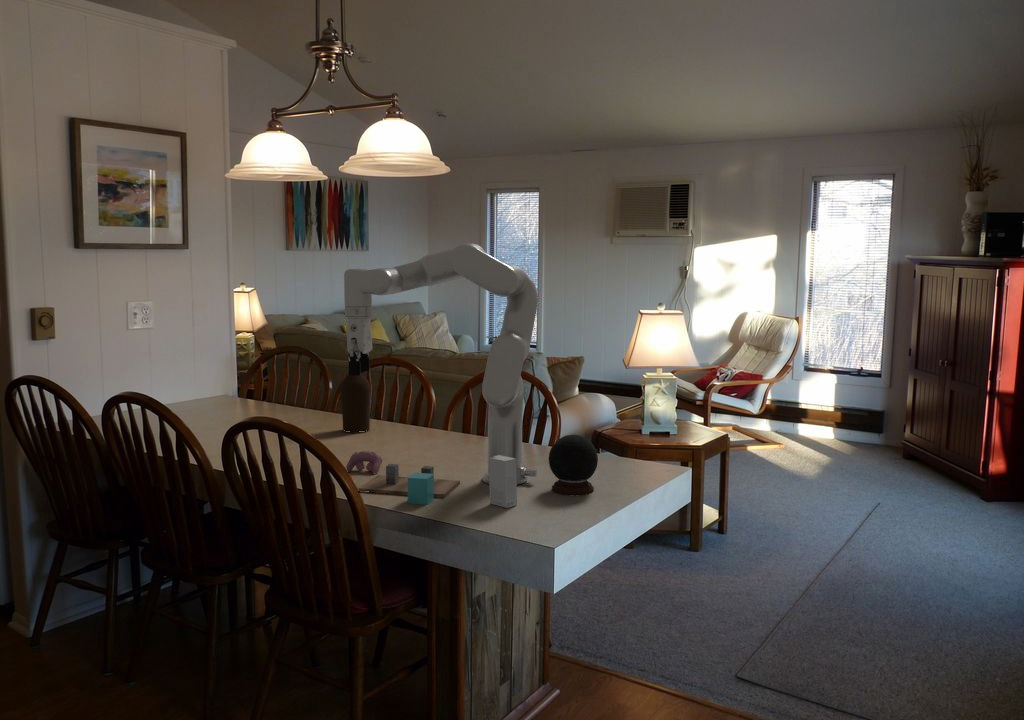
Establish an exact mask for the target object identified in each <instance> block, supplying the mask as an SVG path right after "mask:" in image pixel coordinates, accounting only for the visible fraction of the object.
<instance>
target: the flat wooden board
mask: <svg viewBox="0 0 1024 720" xmlns="http://www.w3.org/2000/svg"><path fill="white" fill-rule="evenodd" d="M434 471H435V470H434V466H431V465H423V466H422V467H421V468H420V473H427V474H434V475H435V473H434ZM408 477H409V476H399V482H398V483H397V484H396V485H392V484H386V475H381V474H378V475H376V476H375V477H373V478H371V479H370V480H368V481H367V482H365V483H364V484H363V485H361V486H359V487H357V490H358V489H359V491H369V492H376V493H375V494H380V493H389V494H388V495H394V494H399V495H398V496H408ZM459 484H460V485H461V480H455V479H439V478H434V498H437V499H445V498H446V497H447V496H449V495H450V494H451V493H452V492H453V491H454V490H455V489H456V488H458V487H459V486H460V485H459ZM458 485H459V486H458Z"/></svg>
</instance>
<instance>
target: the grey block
mask: <svg viewBox="0 0 1024 720" xmlns="http://www.w3.org/2000/svg"><path fill="white" fill-rule="evenodd" d="M399 466H400V465H399V464H398V463H388V464H387V465H386V466H385V476H386V484H392V485H396V484H397V483H398V482H399V477H400V476H399Z"/></svg>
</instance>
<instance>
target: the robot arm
mask: <svg viewBox="0 0 1024 720" xmlns="http://www.w3.org/2000/svg"><path fill="white" fill-rule="evenodd" d="M463 278H464V279H466V280H469V282H472V284H475V285H477V286H479V287H480V288H482V289H484V290H485V291H487V292H488V293H491V294H492V295H495V296H497V297H502V298H505V297H506V300H507V301H506V307H505V310H504V313H503V320H502V326H501V328H500V329H501V330H500V331H499V335H497V336H496V337H495V338H494V339H493V341H492V343H491V345H490V348H489V351H488V355H487V356H488V357H487V360H486V361H487V362H486V367H485V369H484V375H483V380H482V384H481V385H482V387H481V391H482V396H483V399H484V400H485V402H486V403H487V404H488V408H487V411H488V412H487V413H488V414H487V472H486V473H484V474H483V475H482V476H481V477H482V481H483V482H484V483H486V484H488V485H489V458H490V457H494V456H497V455H501V456H506V457H510V458H515V459H516V478H517V486H518V485H521V484H524V483H526V482H527V481H528V477H535V478H536V477H538V470H537V469H535V467H534V468H529V467H526V466H525V465H526V464H525V462H523V407H524V406H523V405H524V394H525V388H524V387H525V386H524V380H523V378H522V377H523V376H522V375H521V374H522V370H523V366H524V361H525V360H526V359H527V358H528V356H529V354H530V351H531V350H530V349H531V348H530V347H531V342H532V338H533V331H534V327H535V321H536V316H537V309H538V302H539V301H538V299H539V296H538V295H539V294H538V291H537V287H536V284H535V282H534V280H533V279H532V277H531V276H530V275H529V274H528V273H527V272H526V271H525V270H523V269H522V268H521V267H519V266H518V265H514V264H511V263H507V264H506V263H505V262H502V261H501V260H498V259H497V258H495V257H493V256H492V255H489V254H488V253H486V251H485V250H484V248H483V247H482V246H480V245H479V244H476V243H468V242H467V243H462V244H459V245H457V246H455V247H453V248H450V249H449V248H448V249H445V250H441V251H437V252H433V253H429V254H426V255H424V256H422V257H421V258H420V259H418V260H415V261H413V262H408V263H405V264H401V265H397V266H393V267H381V268H379V267H378V268H372V269H367V268H348V269H345V271H344V273H343V284H344V285H343V287H344V288H343V291H344V319H347V326H346V329H347V331H346V333H347V334H346V345H347V346H346V347H347V349H346V350H347V355H348V358H347V359H348V375H353V376H359V375H360V374H362V372H369V371H370V370H371V365H370V363H371V362H370V352H371V351H373V337H372V336H373V334H372V333H373V332H372V321H371V319H372V318H373V305H372V304H373V303H372V302H373V300H372V299H373V298H372V296H374V295H375V296H387V295H388V296H389V295H395V294H398V293H403V292H407V291H411V290H415V289H416V290H417V289H419V288H422V287H423V288H424V287H428V286H429V287H432V286H436V285H439V284H443V283H447V282H452V281H455V280H459V279H463Z"/></svg>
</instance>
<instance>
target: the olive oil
mask: <svg viewBox="0 0 1024 720" xmlns="http://www.w3.org/2000/svg"><path fill="white" fill-rule="evenodd" d="M371 392H372V388H371V384H370V382H369V380H368V379H367V378H366V377H365V376H364V375H363V374H362V373H361V374H360V375H359V376H353V375H349V374H348V375H347V376H346V377H345V378H344V379H343V381H342V382H341V385H340V401H341V413H342V414H341V415H342V431H343V430H345V431H350V432H359V431H366V430H369V431H370V427H371V426H370V424H371V422H370V421H371V420H370V419H371V418H370V417H371V396H372V395H371Z"/></svg>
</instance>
